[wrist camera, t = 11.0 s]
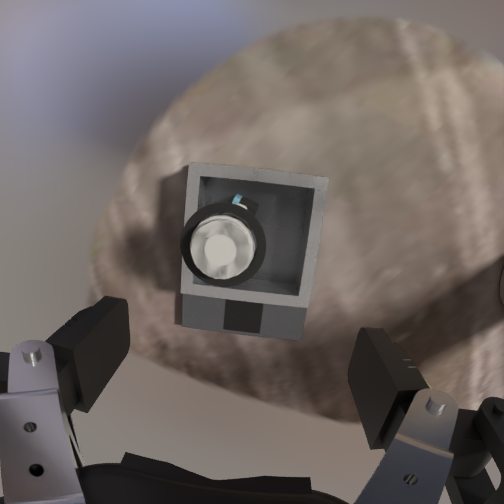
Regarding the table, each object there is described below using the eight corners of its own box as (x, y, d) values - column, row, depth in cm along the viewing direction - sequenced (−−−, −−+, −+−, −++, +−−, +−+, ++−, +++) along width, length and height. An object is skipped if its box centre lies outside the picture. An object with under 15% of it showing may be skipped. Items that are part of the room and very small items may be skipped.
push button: (244, 272, 30) (235, 323, 20) (191, 249, 29) (157, 289, 20) (275, 207, 28) (281, 228, 18) (220, 181, 28) (196, 190, 18)
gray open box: (325, 177, 28) (335, 179, 24) (299, 334, 32) (303, 356, 28) (194, 162, 28) (183, 161, 24) (184, 321, 33) (174, 341, 28)
